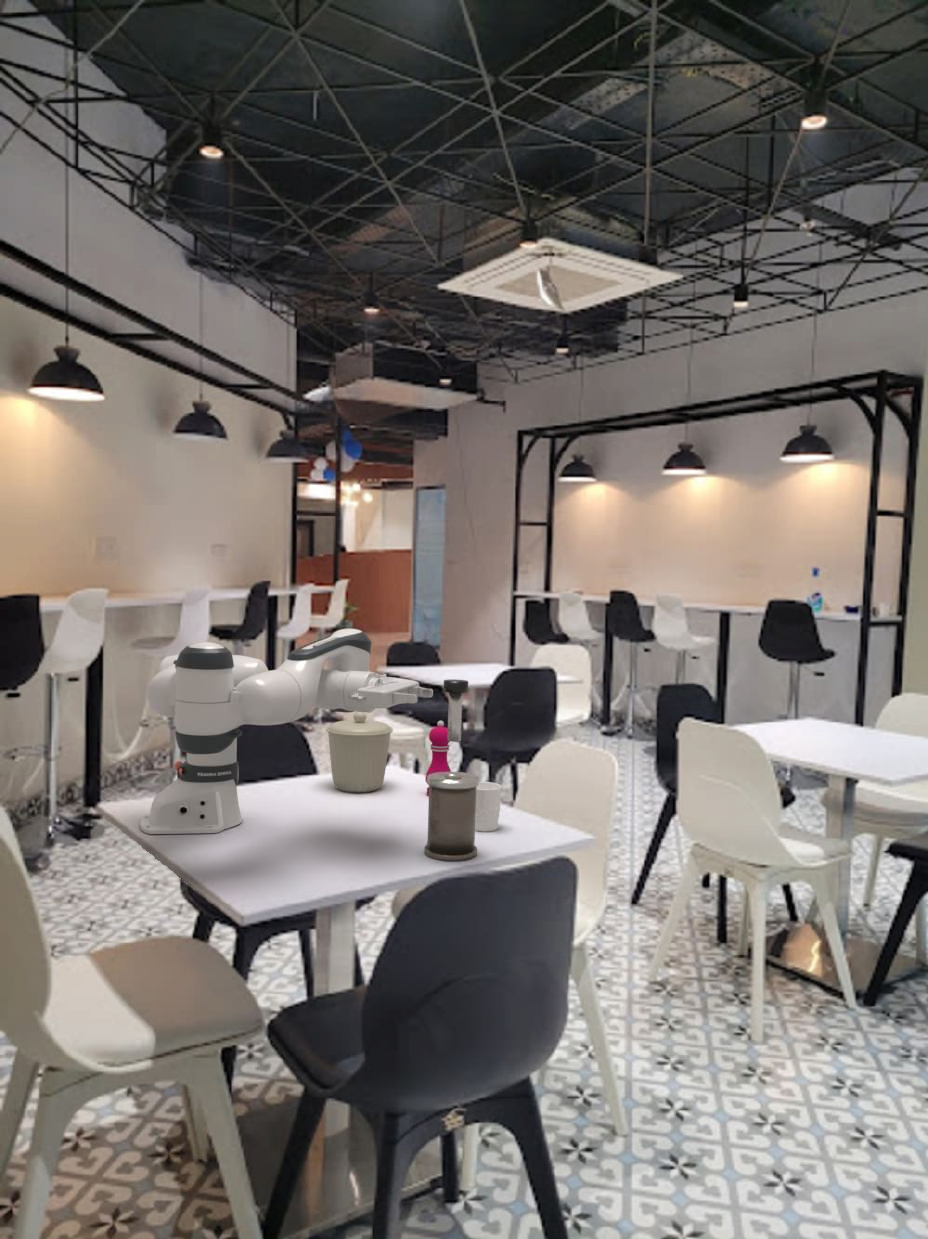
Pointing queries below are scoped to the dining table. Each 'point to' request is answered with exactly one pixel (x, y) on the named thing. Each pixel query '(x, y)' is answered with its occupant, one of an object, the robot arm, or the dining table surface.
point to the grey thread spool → (451, 816)
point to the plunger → (455, 707)
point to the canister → (358, 753)
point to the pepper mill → (438, 750)
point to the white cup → (487, 806)
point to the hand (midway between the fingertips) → (424, 696)
